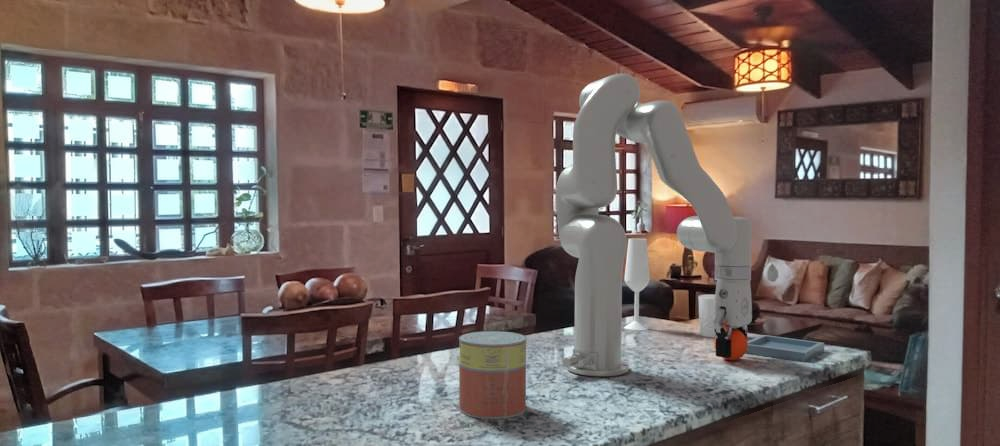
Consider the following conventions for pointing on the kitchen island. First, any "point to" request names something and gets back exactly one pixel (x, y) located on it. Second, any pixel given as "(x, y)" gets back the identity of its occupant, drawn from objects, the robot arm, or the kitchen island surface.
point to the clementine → (736, 344)
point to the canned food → (492, 374)
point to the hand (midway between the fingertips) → (731, 353)
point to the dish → (784, 348)
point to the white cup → (706, 315)
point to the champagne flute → (637, 275)
